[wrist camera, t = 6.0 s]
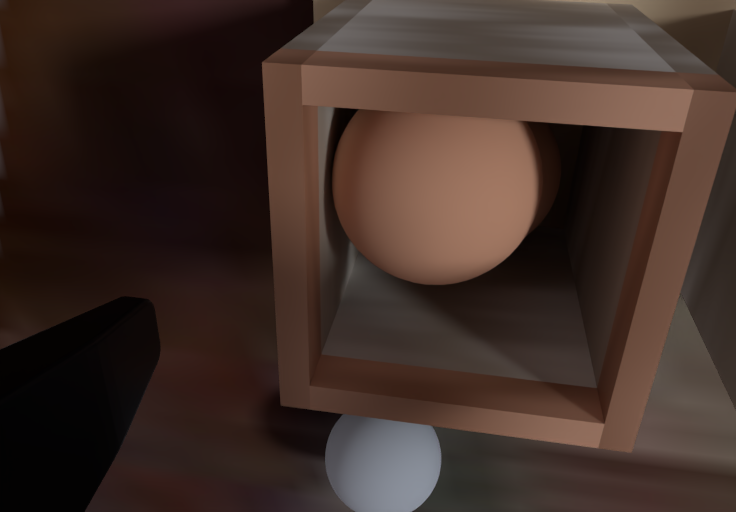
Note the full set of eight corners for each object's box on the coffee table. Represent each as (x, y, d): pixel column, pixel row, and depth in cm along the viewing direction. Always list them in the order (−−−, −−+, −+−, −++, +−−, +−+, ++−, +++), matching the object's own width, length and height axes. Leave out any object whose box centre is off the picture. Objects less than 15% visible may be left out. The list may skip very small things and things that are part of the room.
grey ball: (440, 463, 25) (432, 554, 22) (338, 448, 26) (313, 535, 22) (449, 382, 23) (441, 467, 20) (338, 367, 24) (311, 449, 20)
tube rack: (1112, -33, 15) (1788, 49, 7) (932, 305, 19) (1225, 582, 11) (319, -63, 17) (179, -25, 9) (323, 244, 21) (229, 440, 14)
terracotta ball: (531, 331, 13) (462, 258, 10) (362, 289, 15) (259, 217, 12) (586, 149, 14) (540, 25, 10) (419, 134, 16) (337, 27, 13)
